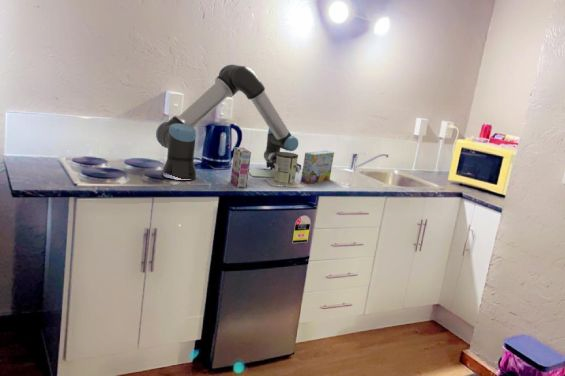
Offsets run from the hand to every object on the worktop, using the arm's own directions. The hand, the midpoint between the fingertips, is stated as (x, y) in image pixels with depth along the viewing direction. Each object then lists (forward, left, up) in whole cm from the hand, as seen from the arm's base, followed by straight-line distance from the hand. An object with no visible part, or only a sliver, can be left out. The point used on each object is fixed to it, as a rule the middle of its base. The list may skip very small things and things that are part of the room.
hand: (288, 169), depth 232 cm
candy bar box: (-24, -6, -8) cm, 26 cm away
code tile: (0, +4, -7) cm, 9 cm away
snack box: (+20, +14, -8) cm, 25 cm away
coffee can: (0, +4, -7) cm, 9 cm away
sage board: (-6, +21, -7) cm, 23 cm away
